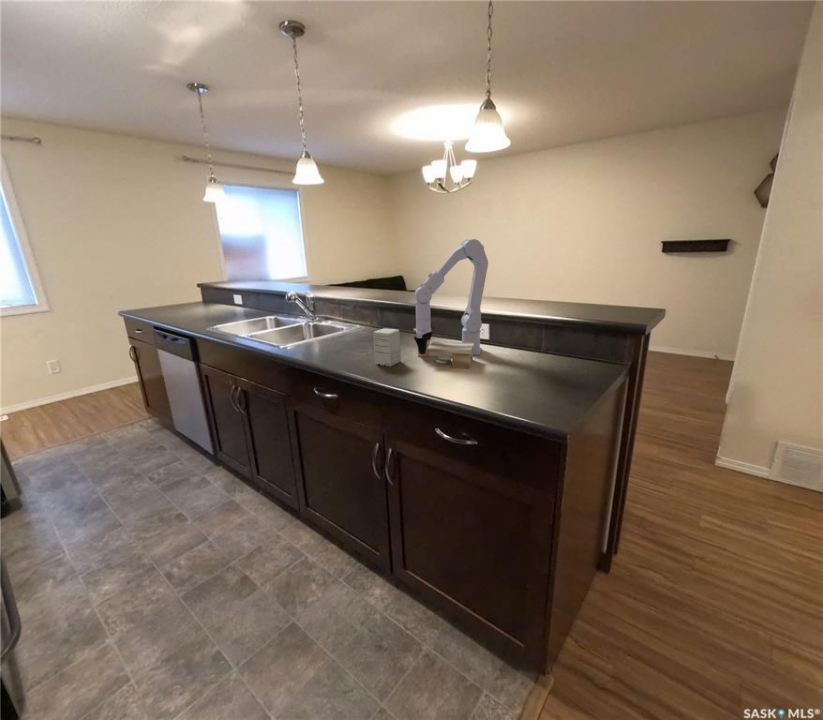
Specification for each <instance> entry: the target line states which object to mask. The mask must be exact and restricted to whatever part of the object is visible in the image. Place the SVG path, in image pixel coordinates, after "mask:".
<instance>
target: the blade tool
mask: <svg viewBox="0 0 823 720" xmlns="http://www.w3.org/2000/svg"><path fill="white" fill-rule="evenodd" d="M430 344H431V339H430V340H427V344H426V349H427V348H428V346H429V345H430ZM417 356H418V357H450V358H452V353H439V352H426V351H425V354H420V353H419V350H418V349H417Z"/></svg>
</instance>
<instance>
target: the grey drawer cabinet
mask: <svg viewBox="0 0 823 720" xmlns="http://www.w3.org/2000/svg"><path fill="white" fill-rule="evenodd" d="M372 334H373V335H372V336H373V337H372V338H373V351H374V353H373V354H374V363H375V365H378V364H380V365H379V366H384V365H386V367H392V366H394V365H396V364H398V363H401V362H402V360H401V359H402V357H401V337H400V329H397V328H396V329H395V328H387V327H385V328H380V329H378V330H375V331H373V332H372Z"/></svg>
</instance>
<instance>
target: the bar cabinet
mask: <svg viewBox="0 0 823 720" xmlns="http://www.w3.org/2000/svg"><path fill="white" fill-rule="evenodd" d="M473 348H474V343H462V342H459V341H457V342H456V341H455V342H453V341H452V342H451V341H432V342H430V345H429V346H428V348H427V349H426V352H439V353H452V357H451V363H452V366H451V367H452V368H454V369H470V367H471V365H472V363H473V360H474V358H473V357H474V355H473Z"/></svg>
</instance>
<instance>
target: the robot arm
mask: <svg viewBox="0 0 823 720" xmlns="http://www.w3.org/2000/svg"><path fill="white" fill-rule="evenodd" d="M465 259H468V260H469V261H470V263H471V264H472V265H473V272H472V279H471V282H470V288H469V294H468V300H467V305H466V307H465V310H464V313H463V315H462V317H461V319H460V322H461V325H462V326H463V328H462V329H461V343H474V348H473V356H474V355H475V356H476V355H477V356H479V355H481V352H482V349H483V348H482V347H481V328H482V325H483V321H482V311H481V310H482V309H481V305H482V300H483V296H484V295H483V294H484V291H485V290H484V289H485V285H486V278H487V272H488V267H489V260H488V257H487V255H486V252H485V246H484V245H483V244H482V243H481V241H479V240H478V239H475V238H473V239H464V240H463V241H462V242H461V243H460V245H458V246H457V247H456V248H455V249H454V250H453V251H452V252H451V254H450V255H449V256H448V258H447V259H446V260H445V261H444V262H443V264H442V265H441V267H440V268H439V269H438V270H433V271H432V272H429V273H428V275H427V276H428V277H426V279H425V280H424V281H423V283H420V285H419V286H420V287H417V289H416V290H415V291H414V294H413V295H414V299H415V328H413V332H416V335H414V336H413V340H414V341H415V342H416V346H417V351H418V350H419V353H420V354H425V351H426V344H427V340H430V341H431V338H432V336H433V334H434V333H433V331H432V328H431V304H430V303H431V301H432V300H431V299H432V296H433V295H434V294H435V293H436V291H437V290H438V289H439V288H440V287H441V286H442V284H444V282H445V277H446V275H447V274H448V273H449V272H450V271H451V270H452V268H454V267H455V266H456V264H457V263H458V262H459V261H462V260H465Z"/></svg>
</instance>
